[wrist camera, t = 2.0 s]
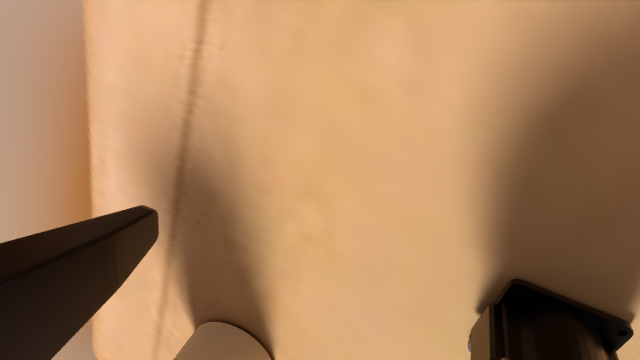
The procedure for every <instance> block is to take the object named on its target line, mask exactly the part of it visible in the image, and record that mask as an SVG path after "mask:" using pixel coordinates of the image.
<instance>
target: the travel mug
mask: <svg viewBox="0 0 640 360" xmlns="http://www.w3.org/2000/svg"><path fill="white" fill-rule="evenodd" d="M173 360H271V358H270V356H269V355H268V353H267V352H266V350H265V349H264V348H263V347H262V345H261V344H260V343H259V342H258V341H256V340H255V339H254V338H253V337H252V336H251V335H249V334H248V333H246V332H245V331H243V330H241V329H239V328H237V327H235V326H232V325H229V324H226V323H221V322H207V323H204V324H202V325H200V326H199V327H198V328H197V329H196V331H195V332H194V333H193V335H192V336H191V337H190V339H189V340H188V341H187V342H186V344H185V345H184V346H183V348H182V349H181V350H180V352H179V353H178V354H177V355H176V357H175V358H174V359H173Z"/></svg>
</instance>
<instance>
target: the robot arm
mask: <svg viewBox="0 0 640 360" xmlns="http://www.w3.org/2000/svg"><path fill="white" fill-rule="evenodd" d="M158 235H159V225H158V213H157V211H156V210H154V209H152V208H150V207H147V206H144V205H141V206H137V207H133V208H129V209H126V210H122V211H118V212H115V213H111V214H107V215H103V216H100V217H96V218H92V219H89V220H85V221H81V222H78V223H74V224H70V225H67V226H63V227H59V228H56V229H52V230H48V231H44V232H41V233H37V234H33V235H30V236H26V237H22V238H18V239H15V240H11V241H7V242H4V243H0V360H51V359H52V358H53V357H54V356H55V355H56V354H57V352H59V351H60V350H61V348H62V347H63V346H64V345H65V344H66V343H67V342H68V341H69V340H70V339H71V338H72V337H73V336H74V335H75V334H76V333H77V332H78V331H79V330H80V329H81V328H82V327H83V326H84V324H85V323H86V322H87V321H88V320H89V319H90V318H91V317H92V316H93V315H94V314H95V313H96V312H97V311H98V310H99V309H100V308H101V307H102V306H103V305H104V304H105V303H106V302H107V301H108V299H109V298H110V297H111V296H112V295H113V294H114V293H115V292H116V291H117V290H118V289H119V288H120V287H121V285H122V284H123V283H124V282H125V281H126V279H127V278H128V277H129V275H130V274H131V273H132V272H133V270H134V269H135V268H136V267H137V265H138V264H139V263H140V261H141V260H142V259H143V258H144V256H145V255H146V254H147V252H148V251H149V250H150V249H151V247H152V246H153V245H154V243H155V242H156V240H157V238H158ZM517 287H518V288H521V289H519V290H517V289H514V288H517ZM619 329H624V330H619ZM633 334H634V333H633V329H632V327H631V325H630V324H629V323H628V322H626V321H624V320H622V319H619V318H616V317H614V316H611V315H609V314H606V313H604V312H601V311H599V310H596V309H594V308H591V307H589V306H586V305H584V304H581V303H579V302H576V301H573V300H571V299H568V298H566V297H563V296H561V295H558V294H556V293H553V292H551V291H548V290H546V289H543V288H541V287H538V286H536V285H533V284H530V283H528V282H525V281H523V280H519V279H514V280H511V281H510V282H509V283H508V284H507V286H506V287H505V289H504V290H503V292H502V293H501V295H500V296H499V297H498V299H497V300H496V302H495V303H492V304H490V305H488V306H487V308H486V309H485V311H484V312H483V313H482V315H481V316H480V318H479V319H478V321H477V322H476V324H475V325H474V327H473V328H472V330H471V338H470V339H469V341H468V349H469V351H470V352H471V360H619V359H618V356H617V353H616V351H617V350H618V349H619V348H620V347H622V346H623V345H624V344H625V343H626V342H627V341H628V340H629V339H630V338H631V337H632V336H633Z"/></svg>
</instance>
